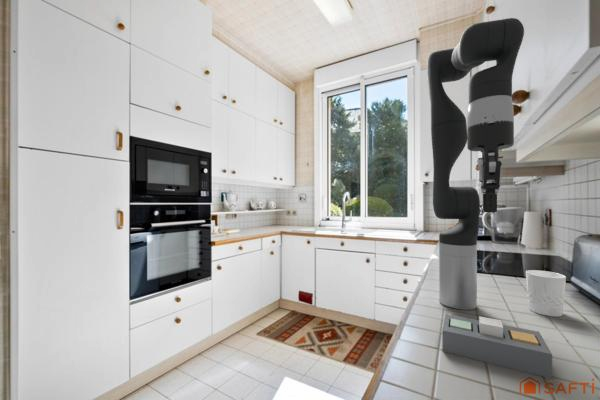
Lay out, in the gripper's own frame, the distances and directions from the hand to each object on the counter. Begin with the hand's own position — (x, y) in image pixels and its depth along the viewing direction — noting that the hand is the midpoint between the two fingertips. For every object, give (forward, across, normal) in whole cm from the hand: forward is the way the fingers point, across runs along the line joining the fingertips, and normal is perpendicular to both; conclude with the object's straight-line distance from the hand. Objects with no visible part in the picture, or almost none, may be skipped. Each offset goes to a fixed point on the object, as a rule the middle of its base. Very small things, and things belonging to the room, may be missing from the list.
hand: (489, 212), depth 54 cm
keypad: (+27, +1, 0) cm, 27 cm away
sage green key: (+25, +1, -5) cm, 25 cm away
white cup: (+27, -30, +14) cm, 43 cm away
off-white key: (+23, +1, 0) cm, 23 cm away
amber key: (+25, +1, +5) cm, 25 cm away
